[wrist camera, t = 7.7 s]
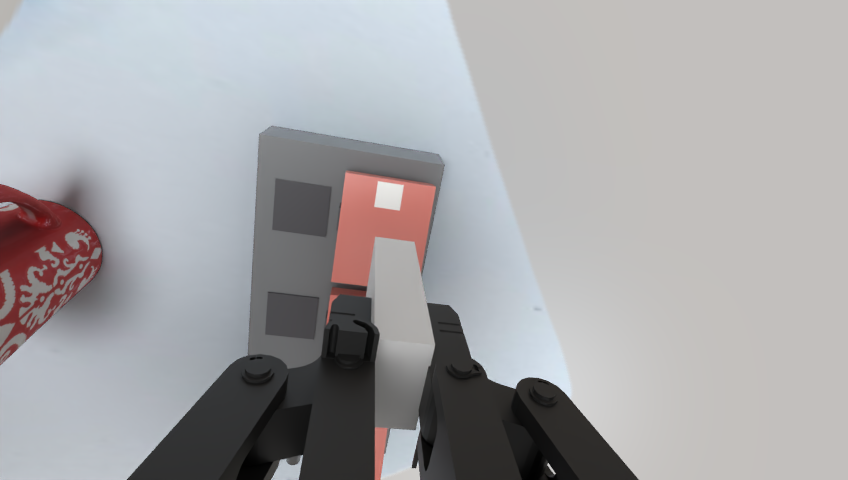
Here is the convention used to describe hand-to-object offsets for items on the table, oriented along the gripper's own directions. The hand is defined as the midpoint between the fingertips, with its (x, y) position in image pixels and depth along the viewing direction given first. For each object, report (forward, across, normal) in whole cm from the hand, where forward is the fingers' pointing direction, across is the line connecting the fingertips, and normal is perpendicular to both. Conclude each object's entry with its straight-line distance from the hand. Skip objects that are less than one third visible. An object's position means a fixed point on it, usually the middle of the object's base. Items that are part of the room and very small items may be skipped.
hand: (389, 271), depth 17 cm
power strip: (+18, -2, -13) cm, 22 cm away
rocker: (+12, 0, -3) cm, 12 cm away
